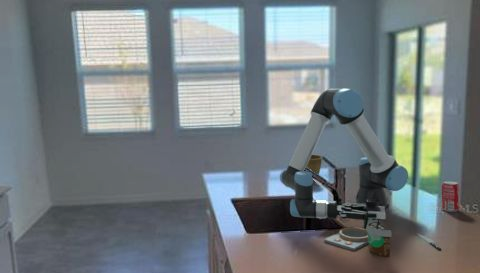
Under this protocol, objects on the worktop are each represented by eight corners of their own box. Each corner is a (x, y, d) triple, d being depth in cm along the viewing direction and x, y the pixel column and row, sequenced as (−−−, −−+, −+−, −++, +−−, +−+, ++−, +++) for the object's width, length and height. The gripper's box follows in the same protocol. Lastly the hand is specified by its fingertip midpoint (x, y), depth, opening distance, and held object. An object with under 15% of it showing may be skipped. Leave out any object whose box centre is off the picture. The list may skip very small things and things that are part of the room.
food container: (360, 246, 156) (360, 220, 154) (376, 245, 156) (377, 219, 155) (373, 260, 143) (374, 232, 142) (391, 258, 144) (391, 230, 143)
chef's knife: (420, 232, 168) (413, 232, 168) (421, 230, 168) (413, 230, 168) (447, 251, 149) (439, 251, 149) (447, 248, 149) (439, 248, 149)
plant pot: (297, 180, 259) (296, 154, 257) (321, 180, 257) (321, 154, 255) (296, 186, 245) (296, 159, 242) (323, 186, 242) (322, 159, 240)
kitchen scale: (324, 241, 161) (324, 236, 161) (349, 229, 172) (349, 224, 172) (354, 251, 152) (354, 245, 151) (378, 237, 163) (378, 232, 163)
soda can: (460, 212, 188) (461, 184, 187) (443, 212, 190) (444, 184, 188) (456, 207, 195) (457, 180, 193) (439, 207, 197) (440, 180, 195)
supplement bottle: (371, 232, 169) (372, 203, 167) (359, 227, 175) (359, 199, 173) (384, 229, 172) (384, 200, 170) (372, 224, 178) (372, 196, 176)
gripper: (329, 211, 187) (384, 213, 181) (325, 226, 169) (385, 230, 162) (329, 194, 186) (384, 196, 180) (324, 208, 168) (385, 211, 161)
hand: (384, 212), depth 171 cm, fingers closed on supplement bottle, 7 cm apart
